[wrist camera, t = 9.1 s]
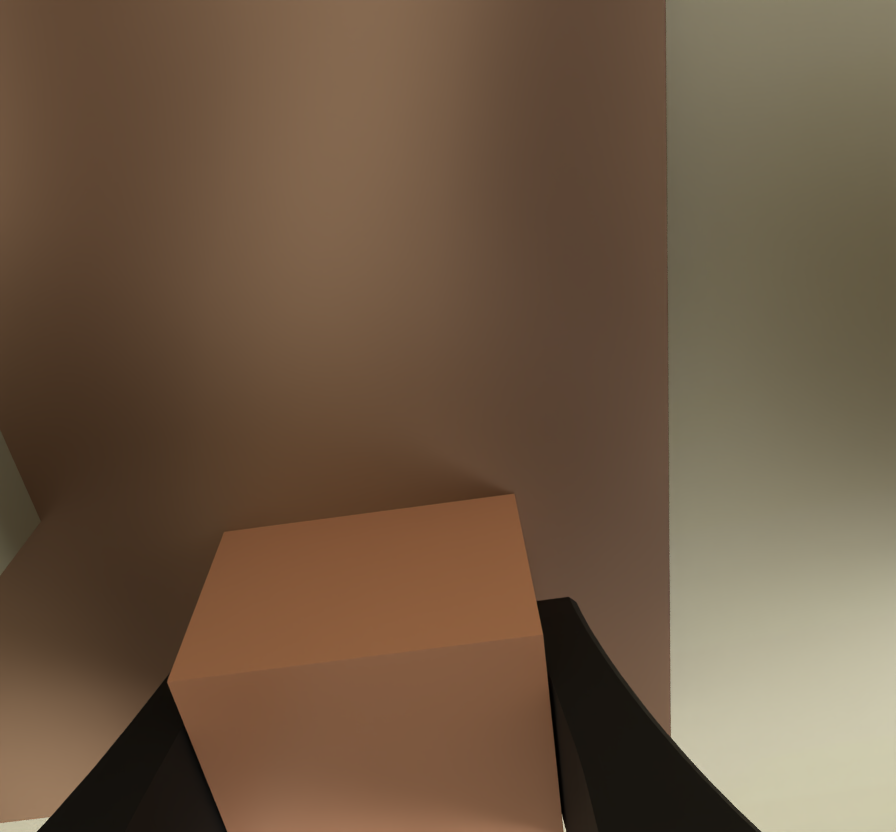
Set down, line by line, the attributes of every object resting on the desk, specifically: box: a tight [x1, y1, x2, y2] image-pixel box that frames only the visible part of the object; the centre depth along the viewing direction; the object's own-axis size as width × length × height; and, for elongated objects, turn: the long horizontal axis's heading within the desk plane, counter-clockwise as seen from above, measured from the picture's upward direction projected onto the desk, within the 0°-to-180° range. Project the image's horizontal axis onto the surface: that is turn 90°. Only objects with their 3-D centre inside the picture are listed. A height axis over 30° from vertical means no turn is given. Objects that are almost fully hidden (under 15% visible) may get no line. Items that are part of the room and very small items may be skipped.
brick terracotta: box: [167, 494, 563, 832], centre depth 11 cm, size 4×4×3 cm
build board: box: [0, 0, 671, 823], centre depth 10 cm, size 15×16×4 cm
